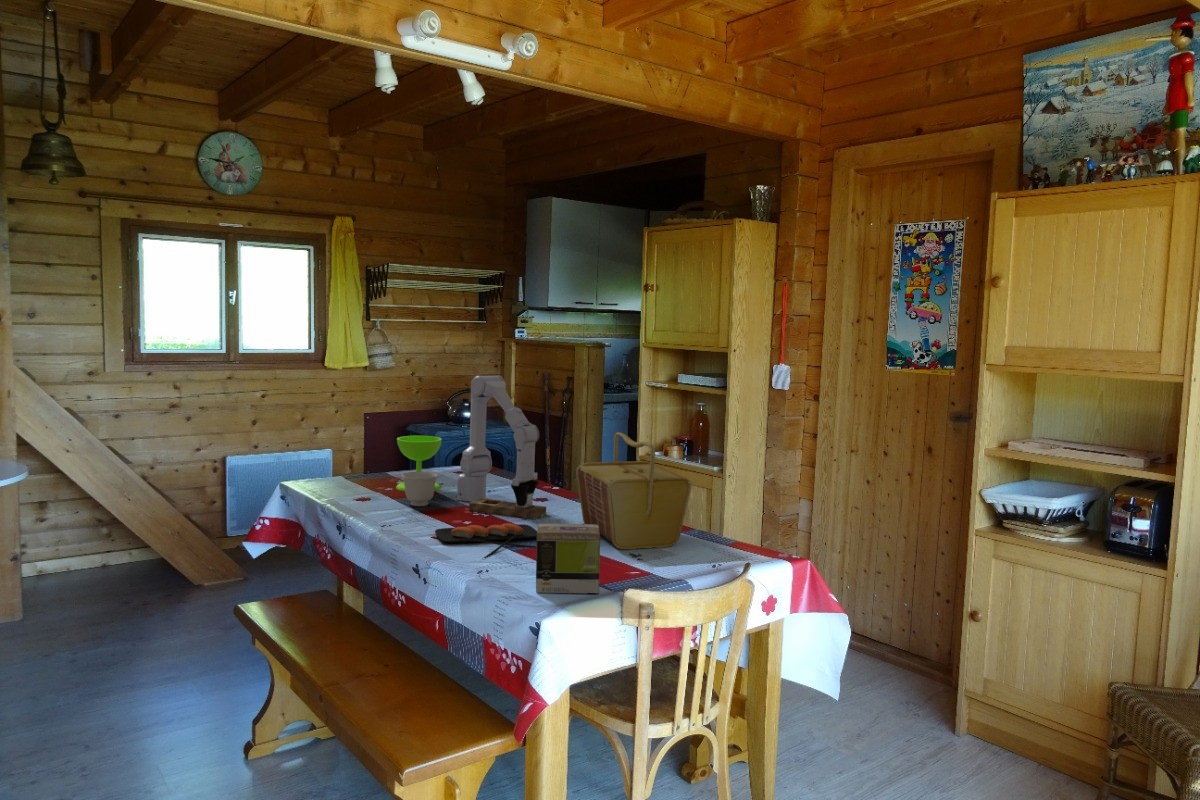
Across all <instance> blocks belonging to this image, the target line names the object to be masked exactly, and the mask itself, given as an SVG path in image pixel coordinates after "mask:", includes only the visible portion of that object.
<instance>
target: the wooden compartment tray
mask: <svg viewBox="0 0 1200 800" xmlns="http://www.w3.org/2000/svg"><path fill="white" fill-rule="evenodd" d="M468 504H469V505H468V511H470V512H479V513H484V514H485V513H486V514H492V515H493V514H494V515H499V516H500V515H501V516H502V515H503V516H509V517H515V516H518V517H517V518H523V517H526V518H525V519H531V518H535V519H534V520H536V518H537V519H539V518H541V517H543V516H545V515H547V506H543V505H538V504H537V505H536V504H533V506H532V508H530V509H520V508H516V502H511V501H507V500H500V499H499V500H498V499H492V498H491V499H478V500H476V501H473V502H470V501H469V502H468ZM544 514H545V515H544ZM542 515H543V516H542ZM540 516H541V517H540ZM538 517H539V518H538Z"/></svg>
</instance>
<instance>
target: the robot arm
mask: <svg viewBox="0 0 1200 800" xmlns="http://www.w3.org/2000/svg"><path fill="white" fill-rule="evenodd" d="M506 384H507V382H505V379H504V378H503V376H502V375H499V374H497V375H476V376H474V378H473V379H472V380H471V381H470V421H469V423H470V424H469V446H468V447H467V448H466V449H465V450H463V451H462V456H461V460H460V464H459V466H460V470H461V472H462V473H461V474H459V476H458V479H457V489H456V490H457V492H456V493H457V495H456V496H457V497H456V498H455V499H456V501H462V502H469V503H470V502H473V501H476V500H478V499H492V498H491V496H490V497H489V496H487V475H489V472H490V471H491V470H492V465H493V461H492V455H491V451H490V450H489V449H488V448H487V447H486V435H487V410H488V409H487V403H488V401H490V400H491V399H492V398H493V399H494V400H496V402H497V404H499V406H500V407H501V408H502V410H504V412H505V420H506V422H507V423H508V425H509V426H510V429H512V432H514V433H513V435H512V436H513V440H514V442H515V448H516V473H515V474H516V475H515V477H514V478H513V479H512V481H511V482H512V483H510V487H511V489H512V491H513V493H514V497H515V503H516V502H517V506H524V504H525V497H526V493H527V492H529V493H533V495H534V494H535V491H536V489H537V486H538V485H539V480H537V479H538V472H535V458H536V457H535V456H536V443H537V442H538V440H539V439H540V431H539V429H538V427H537V425H536V424H532V423H531V422H529V420H528V418H527V417H526V416H525V414H524V413H523V411H522V410H523V409H521V408H519V407H515V404H514V402H513V401H512V399H511V397H510V395H509V394H508V391H507V390H506V387H507V386H506Z"/></svg>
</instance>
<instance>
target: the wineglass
mask: <svg viewBox="0 0 1200 800" xmlns="http://www.w3.org/2000/svg"><path fill="white" fill-rule="evenodd" d="M442 440H443V439H442V437H437V436H431V435H430V436H429V435H407V436H405V435H404V436H400V437H397V438H396V443H397V446H398V449H399V451H400V452H401V453H402V454H403V456H404V457H406V458H407V459H409V460H412V461H415V462H416V463H415V465H416V466H415V467H416V468H415V472H422V466H423V465H422V463H423V461H427V460H429V459H431V458H432V457H433V456H435V455H436V453H437V452H439V450H440V448H441V447H442ZM395 488H396V490H398V491H402V492H405V485H404V481H403V482H400V483H398V484H397V485H396V487H395ZM441 488H442V487H441V485H440V484H439V483H437V482H435V489H434V492H435V491H438V490H440V489H441Z"/></svg>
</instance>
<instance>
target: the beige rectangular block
mask: <svg viewBox="0 0 1200 800" xmlns="http://www.w3.org/2000/svg"><path fill="white" fill-rule="evenodd" d="M533 500H534V494H533V493H529V492H527V493H526V497H525V504H524V506H517V502H516V501H515V503H516V508H520V509H530V508H532V506H533V505H534V504H533V503H534V502H533Z"/></svg>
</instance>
